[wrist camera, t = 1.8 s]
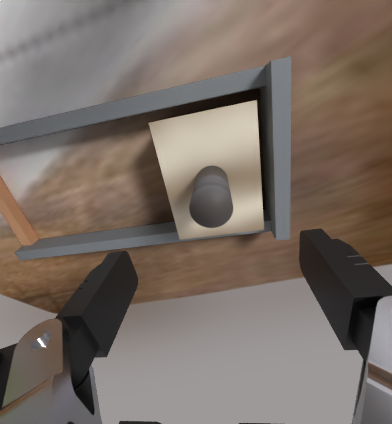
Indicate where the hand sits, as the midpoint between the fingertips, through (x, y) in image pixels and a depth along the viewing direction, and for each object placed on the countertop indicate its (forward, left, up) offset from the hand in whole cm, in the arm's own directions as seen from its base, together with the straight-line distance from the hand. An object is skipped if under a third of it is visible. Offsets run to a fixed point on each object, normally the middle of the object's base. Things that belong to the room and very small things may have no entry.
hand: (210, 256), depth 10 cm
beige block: (0, 0, -17) cm, 17 cm away
